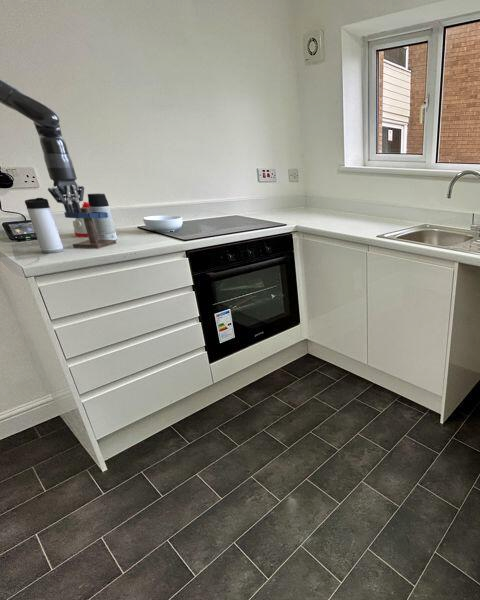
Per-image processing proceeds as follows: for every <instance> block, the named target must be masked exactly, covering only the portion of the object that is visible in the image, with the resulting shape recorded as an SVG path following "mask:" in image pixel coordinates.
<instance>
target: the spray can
mask: <svg viewBox="0 0 480 600" xmlns="http://www.w3.org/2000/svg"><path fill="white" fill-rule="evenodd" d="M87 202H88V203H89V206H90V210H91V212H107V213H108V217H107V218H93V221H94V224H95V228H96V232H97V235H98V239H101V240H116V241H117V240H118V236H117V231H116V227H115V223H114V220H113V216H112V212H111V208H110V204H109V201H108V199H107V197H106V194H105V193H87Z"/></svg>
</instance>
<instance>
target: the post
mask: <svg viewBox="0 0 480 600" xmlns="http://www.w3.org/2000/svg"><path fill="white" fill-rule="evenodd" d="M80 209H81V213H91V211H90V208H82V207H80ZM83 220H84V224H85V227H86V230H87V234H88V237H87V238H88V239H87V240H84V241H79V242H75V243H72V247H73V249H101V248H104V247H108V246H109V247H110V246H113V245H116V244H117V239H116V240H101V239H98V236H97V232H96V229H95V225H94V221H93V218H83Z"/></svg>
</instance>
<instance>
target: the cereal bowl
mask: <svg viewBox="0 0 480 600" xmlns="http://www.w3.org/2000/svg"><path fill="white" fill-rule="evenodd" d="M142 220H143V224H144V225H145V227H146V228H148V229H149V230H152V231H155V232H156V233H171V232H170V231H173V232H175V231H176V230H178V229H180V228H181V227H182V226H183V216H179V215H152V216H145V217H143V219H142Z"/></svg>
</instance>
